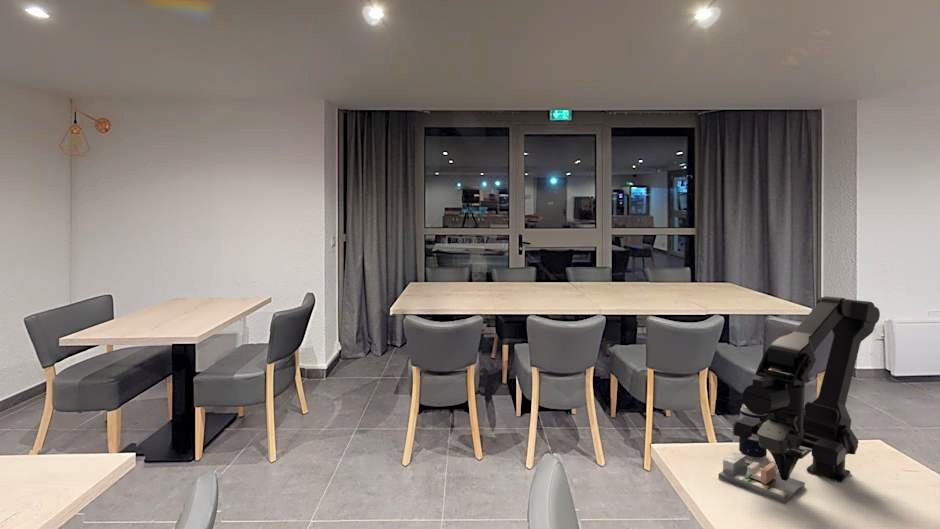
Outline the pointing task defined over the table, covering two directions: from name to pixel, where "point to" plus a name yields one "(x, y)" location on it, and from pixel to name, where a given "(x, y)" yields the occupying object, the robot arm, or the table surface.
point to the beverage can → (752, 443)
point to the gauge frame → (774, 489)
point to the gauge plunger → (761, 472)
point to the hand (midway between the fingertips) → (784, 479)
